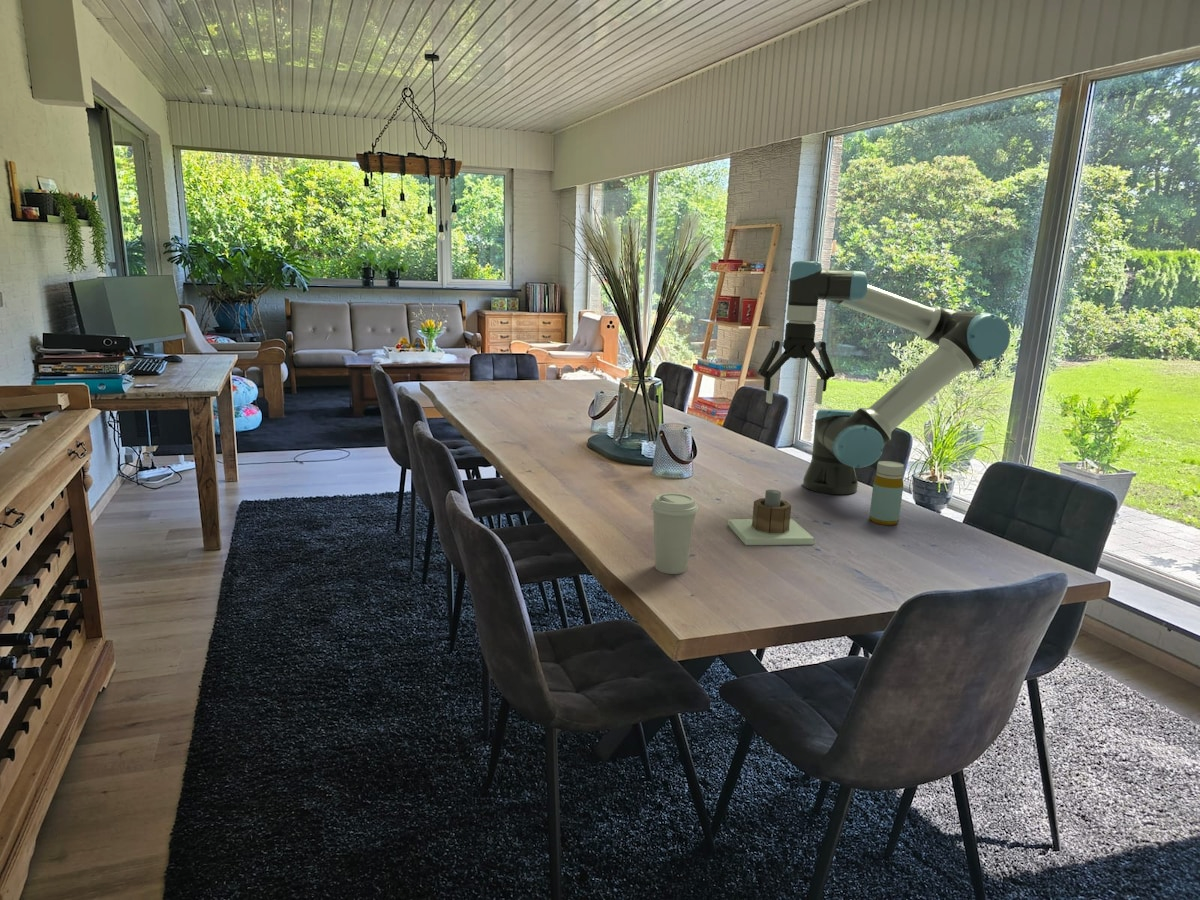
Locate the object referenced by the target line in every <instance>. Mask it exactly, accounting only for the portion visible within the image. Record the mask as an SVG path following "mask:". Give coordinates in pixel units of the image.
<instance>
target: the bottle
mask: <svg viewBox="0 0 1200 900" xmlns="http://www.w3.org/2000/svg"><path fill="white" fill-rule="evenodd" d="M904 467H905V464H904V463H901V462H898V461H891V460H879V461H877V465H876V475H875V477H874V479H873V483H872V484H873V485H872V492H871V493H872V494H871V502H870V510H869V519H870V520H871V522H872V523H875V524H878V525H881V526H895V525H896V524H898V523H899V522H900V517H901V516H900V513H901V507H902V506H901V505H902V501H903V500H902V498H903V490H904V480H903V475H904V470H905V468H904Z"/></svg>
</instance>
